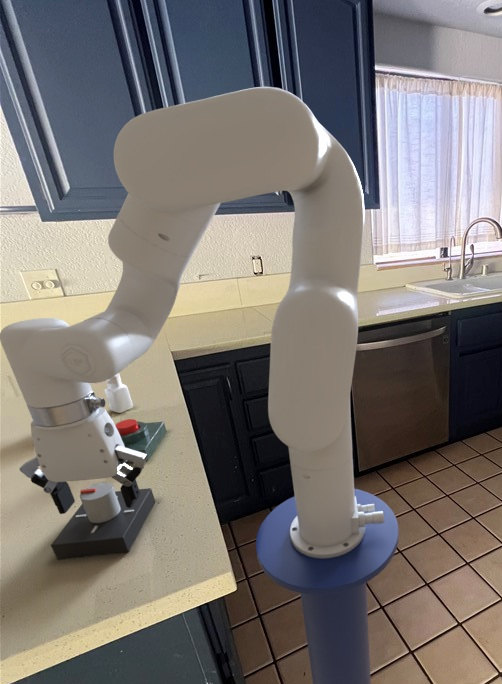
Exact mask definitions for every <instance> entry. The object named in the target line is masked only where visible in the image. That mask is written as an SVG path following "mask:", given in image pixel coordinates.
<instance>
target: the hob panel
mask: <svg viewBox="0 0 502 684" xmlns="http://www.w3.org/2000/svg"><path fill="white" fill-rule="evenodd" d="M114 491H115V490H114ZM139 491H140V496H139V498H138V499H137V500H136V502H135V503H134V505H133V507H131V508H128V507H126V504H125V501H124V498H123V495H122V492H121V490H116V491H115V494H116V497H117V499H118V502H119V505H120V508H121V510H120V512H119V514H118V515H117V516H115V517H114V518H112V519H110V520H108V521H106V522H102V523H92V522H90V521H89V519H88V516H87V514H86V511H85V509H84V506H83V504H82V503H81V504H80V505H79V507H78V509H77V510H76V511H75V512H74V513H73V515H72V517H70V519H69V521H67V523H66V524H65V525H64V526H63V528H62V529H61V531H60V532H59V533H58V535H56V537H55V539H54V540H53V541H52V542H51V543H50V547H51V549H52V552H53V554H54V556H55V558H56V560H57V561H61V560H70V559H71V560H72V559H80V558H88V557H97V556H99V557H100V556H108V555H116V554H117V555H118V554H126V553H127V554H128V553H129V552H130V550H131V549H132V546H133V545H134V543H135V541H136V539H137V537H138V535H139V534H140V531H141V529H142V528H143V526H144V524H145V523H146V521H147V518H148V516H149V515H150V513H151V511H152V509H153V507H154V505H155V504H156V499H155V496H154V493H153V489H152V488H151V487H149V488H139Z"/></svg>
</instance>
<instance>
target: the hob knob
mask: <svg viewBox="0 0 502 684" xmlns="http://www.w3.org/2000/svg"><path fill="white" fill-rule="evenodd" d="M79 498H80V501H81V505H82V504H83V506H84V509H85V511H86V514H87V516H88V519H89V521H90V522H92V523H102V522H106V521H108V520H110V519H112V518H114V517H115V516H117V515H118V514H119V512H120V510H121V508H120V505H119V502H118V499H117V497H116V494H115V488H114V485H113V484H112V483H110V482H100V483H99V482H98V483H95V484H92V485H90V486H88V487H86V488H85V489H81V490H80V492H79Z"/></svg>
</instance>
